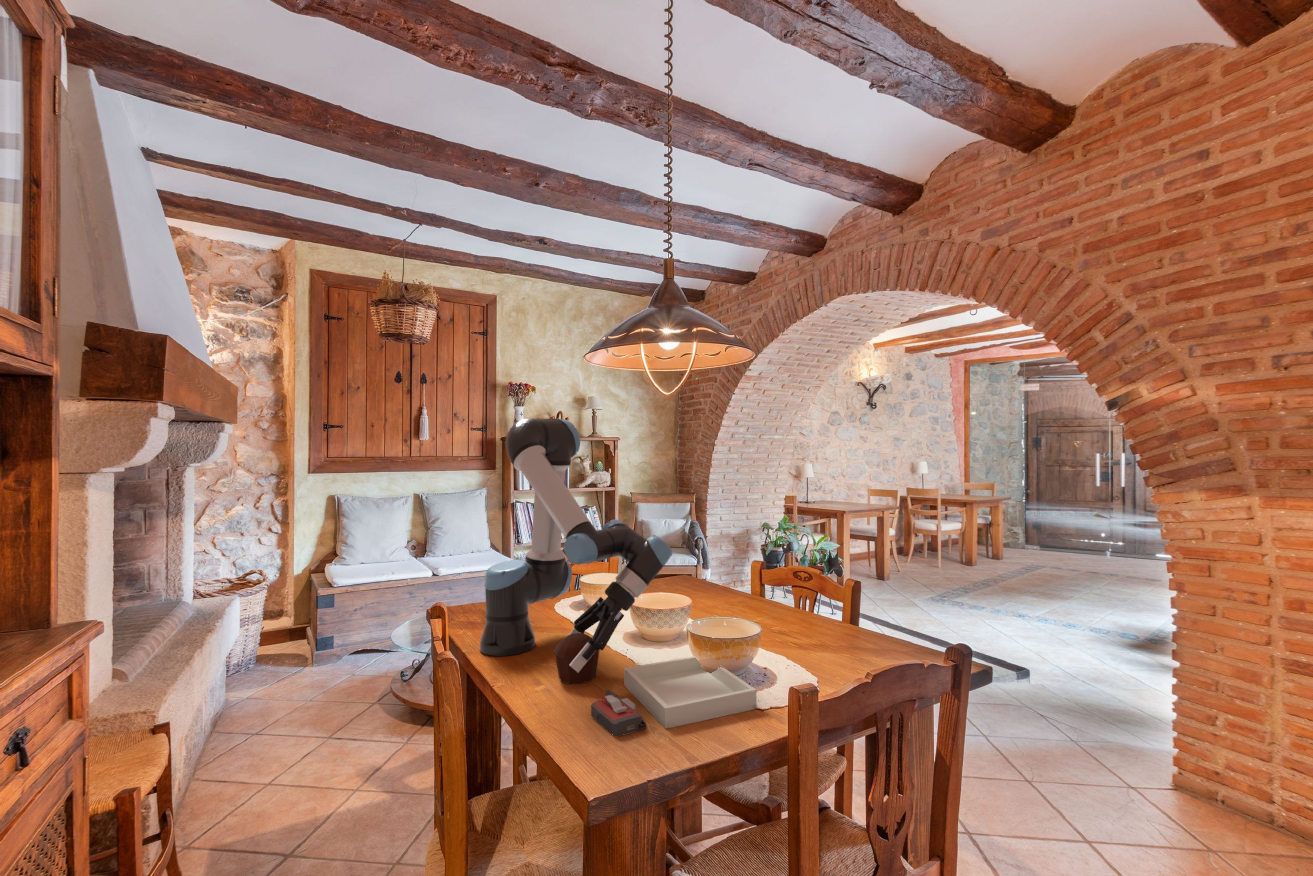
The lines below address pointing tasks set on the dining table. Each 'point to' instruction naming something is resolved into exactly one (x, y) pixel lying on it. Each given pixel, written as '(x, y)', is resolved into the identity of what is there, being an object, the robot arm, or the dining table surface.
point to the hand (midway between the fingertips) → (566, 660)
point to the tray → (688, 691)
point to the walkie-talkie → (617, 714)
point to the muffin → (566, 655)
